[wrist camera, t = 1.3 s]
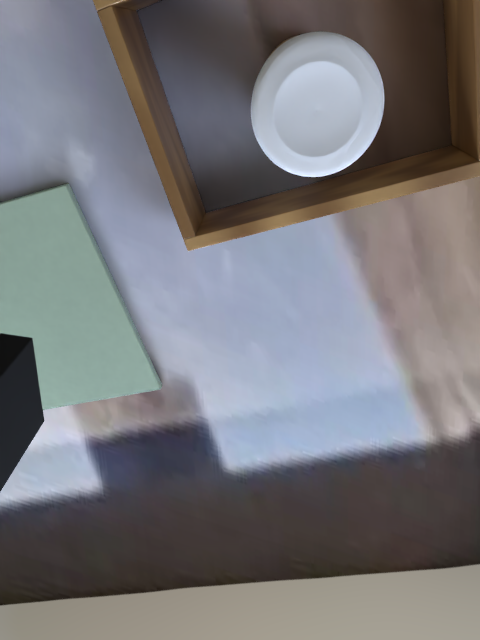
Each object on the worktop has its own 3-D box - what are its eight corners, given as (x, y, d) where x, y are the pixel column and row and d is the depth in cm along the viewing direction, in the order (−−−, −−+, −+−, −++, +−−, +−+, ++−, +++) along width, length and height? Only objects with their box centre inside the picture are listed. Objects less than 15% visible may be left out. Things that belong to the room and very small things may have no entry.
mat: (-99, 230, 34) (-105, 233, 33) (68, 182, 31) (65, 185, 30) (23, 409, 43) (20, 414, 42) (162, 385, 40) (161, 389, 39)
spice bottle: (250, 56, 26) (228, 68, 15) (328, 19, 25) (368, 3, 14) (277, 134, 28) (276, 198, 17) (350, 104, 27) (400, 152, 16)
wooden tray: (452, -134, 22) (489, -172, 18) (465, 154, 28) (495, 172, 24) (118, -2, 25) (89, -9, 22) (198, 226, 32) (187, 251, 28)
